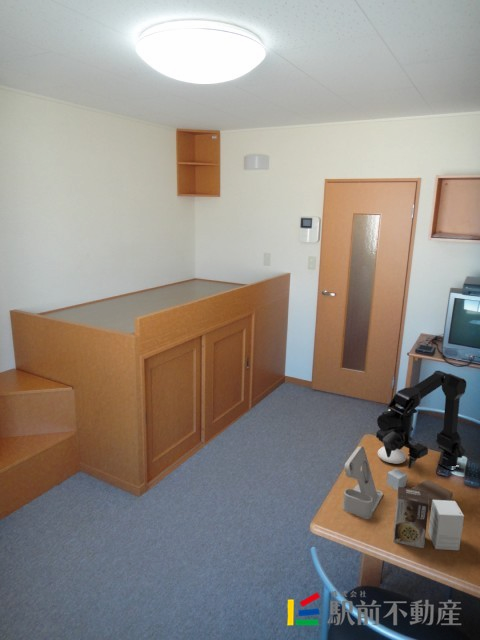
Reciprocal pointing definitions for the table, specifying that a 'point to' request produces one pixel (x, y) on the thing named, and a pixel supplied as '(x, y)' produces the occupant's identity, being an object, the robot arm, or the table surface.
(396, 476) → the grey-blue block
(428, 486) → the brown block
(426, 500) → the coffee box
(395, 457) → the flower in vase
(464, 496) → the table surface
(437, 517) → the supplement box
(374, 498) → the phone holder
